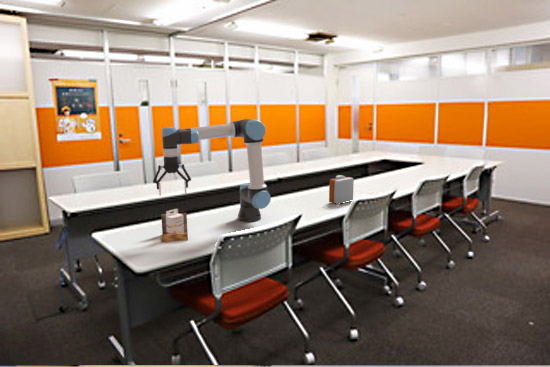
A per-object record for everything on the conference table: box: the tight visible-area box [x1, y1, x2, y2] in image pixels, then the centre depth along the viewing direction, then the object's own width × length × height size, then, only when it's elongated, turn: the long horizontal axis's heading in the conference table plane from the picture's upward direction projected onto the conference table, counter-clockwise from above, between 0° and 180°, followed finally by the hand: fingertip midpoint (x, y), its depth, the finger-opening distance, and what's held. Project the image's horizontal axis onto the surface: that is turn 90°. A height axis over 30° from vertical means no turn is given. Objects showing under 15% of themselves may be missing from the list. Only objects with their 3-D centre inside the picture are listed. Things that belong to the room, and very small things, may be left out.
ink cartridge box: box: [165, 208, 184, 234], centre depth 219 cm, size 9×5×15 cm, turn 141°
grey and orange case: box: [328, 174, 355, 205], centre depth 296 cm, size 18×9×21 cm, turn 130°
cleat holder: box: [160, 212, 189, 243], centre depth 219 cm, size 14×13×12 cm
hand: (173, 194), depth 216 cm, fingers open, 13 cm apart
